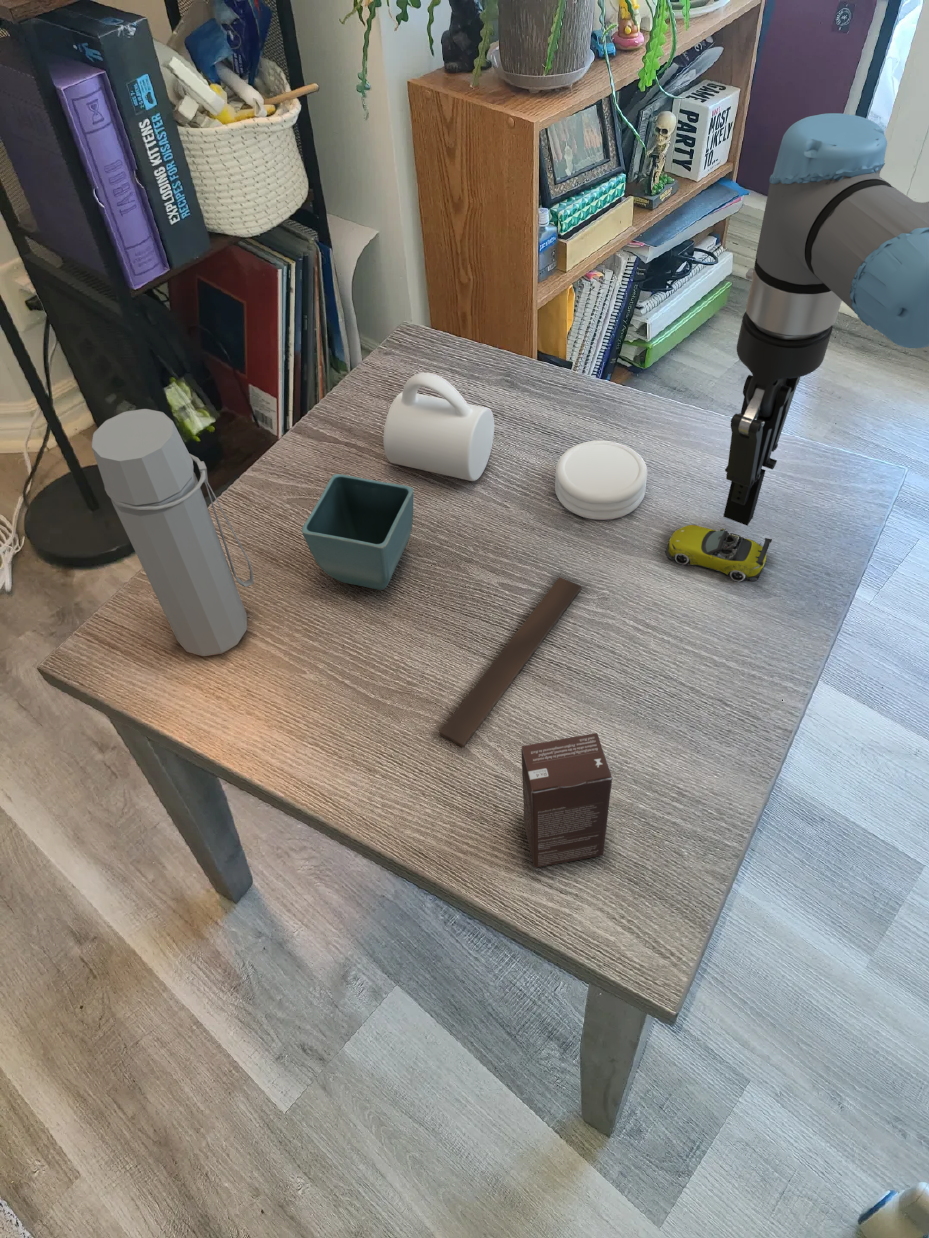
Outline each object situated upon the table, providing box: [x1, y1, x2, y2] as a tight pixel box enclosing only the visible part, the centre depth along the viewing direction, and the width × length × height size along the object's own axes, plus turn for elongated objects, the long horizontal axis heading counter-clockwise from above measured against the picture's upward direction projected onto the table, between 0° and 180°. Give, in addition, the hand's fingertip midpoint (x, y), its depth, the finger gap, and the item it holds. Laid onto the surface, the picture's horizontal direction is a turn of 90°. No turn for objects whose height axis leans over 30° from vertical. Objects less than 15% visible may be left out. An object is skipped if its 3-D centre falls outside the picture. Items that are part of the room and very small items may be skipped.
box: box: [521, 732, 613, 868], centre depth 69 cm, size 6×4×12 cm
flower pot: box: [301, 473, 415, 591], centre depth 91 cm, size 9×9×9 cm
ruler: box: [438, 576, 583, 748], centre depth 86 cm, size 3×22×1 cm, turn 147°
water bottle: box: [91, 408, 254, 657], centre depth 81 cm, size 9×8×25 cm
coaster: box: [554, 439, 649, 521], centre depth 99 cm, size 10×10×4 cm
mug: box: [382, 372, 495, 482], centre depth 100 cm, size 8×10×12 cm
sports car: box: [664, 524, 773, 582], centre depth 92 cm, size 5×10×3 cm, turn 64°
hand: (738, 516), depth 95 cm, fingers closed
